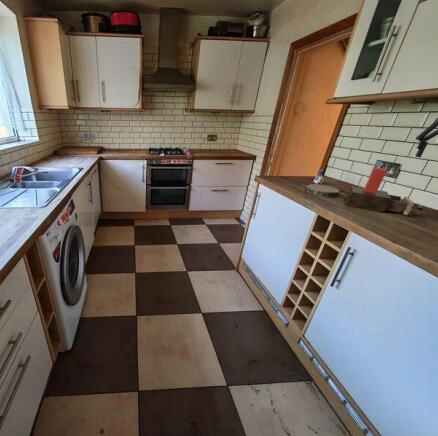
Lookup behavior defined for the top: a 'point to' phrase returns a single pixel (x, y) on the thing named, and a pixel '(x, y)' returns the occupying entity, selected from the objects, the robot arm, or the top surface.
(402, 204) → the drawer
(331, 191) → the round wood slice
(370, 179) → the tea box
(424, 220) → the top surface
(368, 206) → the dark wooden block
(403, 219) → the top surface
